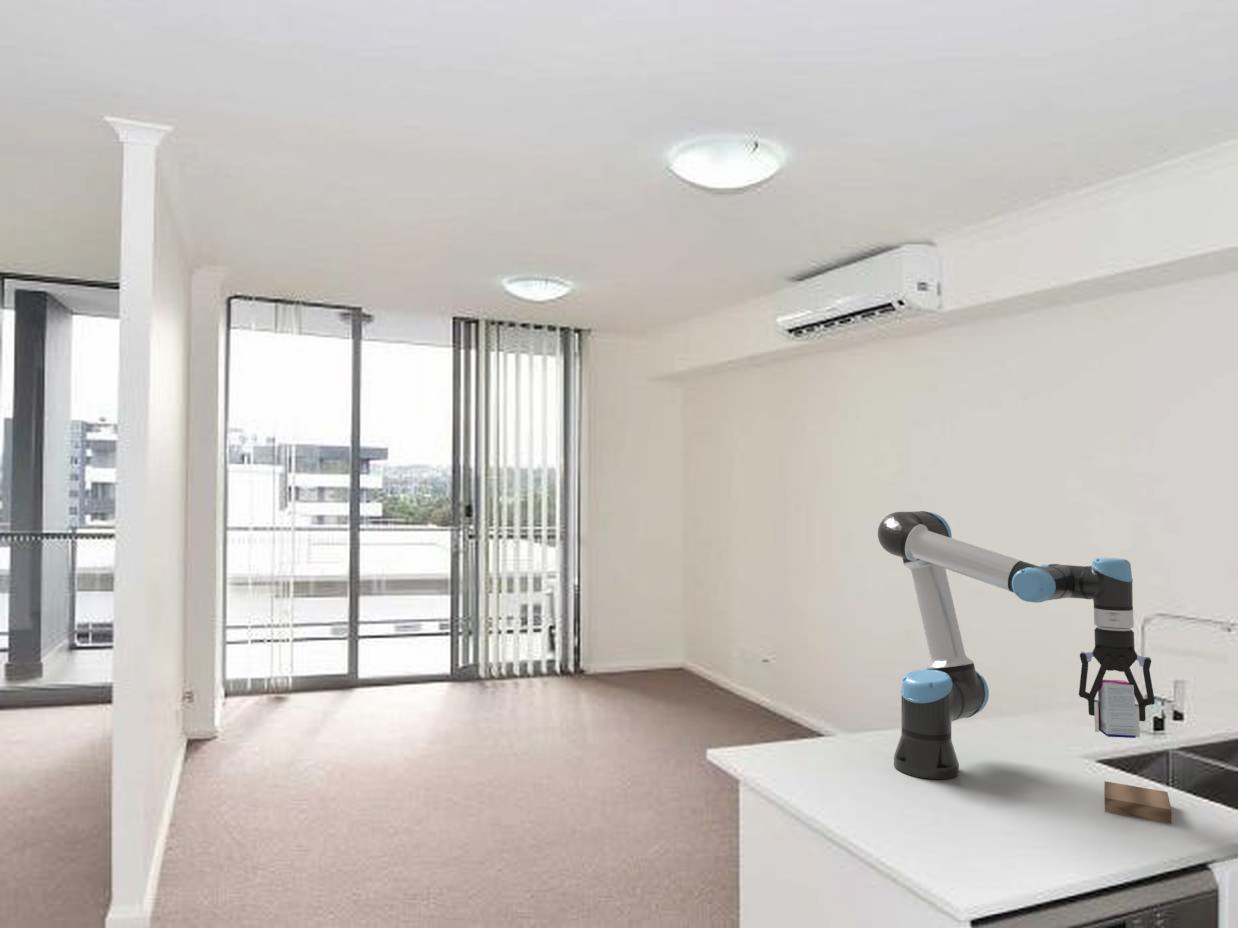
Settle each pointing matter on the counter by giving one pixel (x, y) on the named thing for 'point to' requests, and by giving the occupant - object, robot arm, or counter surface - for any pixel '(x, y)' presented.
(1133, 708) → the supplement box
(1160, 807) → the wooden block
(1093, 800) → the counter surface
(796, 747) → the counter surface
